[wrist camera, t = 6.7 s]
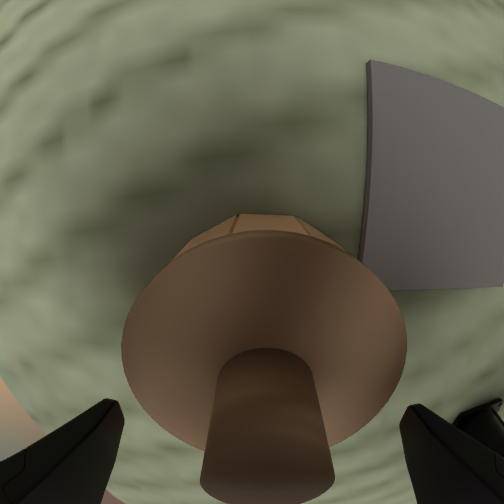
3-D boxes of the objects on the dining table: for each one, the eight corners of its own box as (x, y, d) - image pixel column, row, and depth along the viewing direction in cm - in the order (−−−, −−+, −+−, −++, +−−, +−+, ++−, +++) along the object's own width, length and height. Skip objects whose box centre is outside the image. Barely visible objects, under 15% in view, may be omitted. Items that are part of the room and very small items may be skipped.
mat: (512, 116, 11) (518, 115, 10) (497, 283, 14) (502, 286, 13) (366, 63, 11) (370, 59, 10) (354, 285, 14) (357, 290, 13)
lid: (420, 236, 8) (526, 296, 4) (361, 438, 11) (386, 519, 6) (114, 227, 9) (4, 285, 4) (155, 434, 11) (128, 516, 7)
